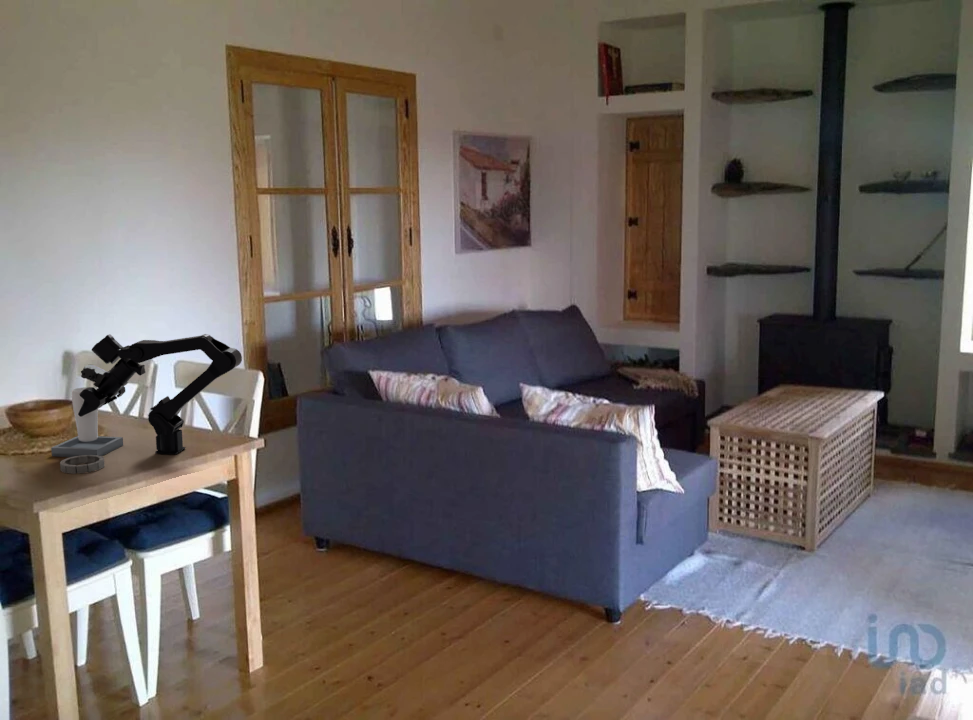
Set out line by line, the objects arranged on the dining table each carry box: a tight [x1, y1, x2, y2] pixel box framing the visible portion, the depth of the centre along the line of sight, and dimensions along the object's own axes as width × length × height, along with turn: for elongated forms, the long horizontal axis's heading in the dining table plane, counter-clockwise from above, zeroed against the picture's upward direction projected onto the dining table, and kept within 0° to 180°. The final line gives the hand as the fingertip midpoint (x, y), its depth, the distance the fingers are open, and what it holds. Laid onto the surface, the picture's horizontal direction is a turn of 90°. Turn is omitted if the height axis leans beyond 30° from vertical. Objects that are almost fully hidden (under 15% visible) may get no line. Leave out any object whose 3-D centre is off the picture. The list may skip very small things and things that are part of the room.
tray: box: [50, 435, 124, 458], centre depth 275 cm, size 14×14×2 cm
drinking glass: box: [71, 386, 99, 442], centre depth 274 cm, size 7×7×15 cm
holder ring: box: [59, 455, 105, 475], centre depth 259 cm, size 11×11×2 cm
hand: (84, 412), depth 273 cm, fingers closed on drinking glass, 7 cm apart
